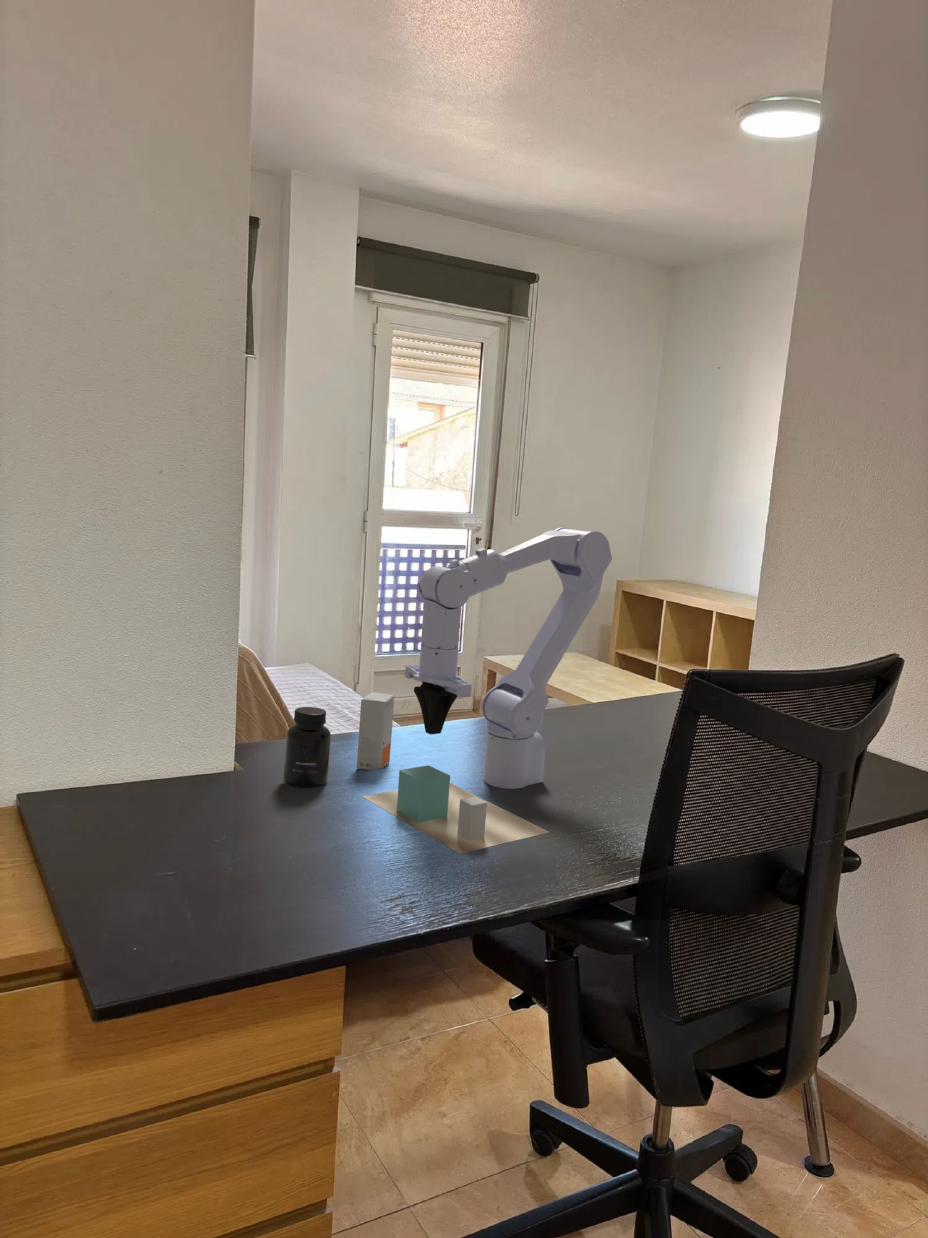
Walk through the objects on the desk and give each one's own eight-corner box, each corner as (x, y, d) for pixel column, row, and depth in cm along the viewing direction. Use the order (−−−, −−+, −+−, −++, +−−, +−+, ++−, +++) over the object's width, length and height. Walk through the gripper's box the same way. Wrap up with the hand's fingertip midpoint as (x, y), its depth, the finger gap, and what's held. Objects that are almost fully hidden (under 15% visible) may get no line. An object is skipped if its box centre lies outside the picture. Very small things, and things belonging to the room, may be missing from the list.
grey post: (472, 831, 125) (475, 796, 125) (484, 837, 123) (487, 802, 123) (457, 834, 124) (460, 799, 123) (469, 841, 122) (472, 805, 121)
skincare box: (380, 772, 150) (385, 702, 149) (355, 769, 151) (360, 699, 149) (390, 762, 156) (395, 694, 155) (367, 759, 157) (371, 691, 155)
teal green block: (425, 805, 134) (428, 765, 133) (447, 816, 130) (450, 775, 129) (396, 810, 131) (399, 770, 130) (417, 822, 127) (420, 780, 126)
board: (446, 786, 146) (447, 781, 146) (549, 837, 127) (549, 832, 127) (361, 801, 136) (361, 796, 136) (459, 859, 117) (459, 853, 117)
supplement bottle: (298, 795, 137) (302, 717, 135) (275, 782, 142) (278, 707, 140) (336, 788, 141) (340, 713, 139) (312, 775, 146) (316, 703, 144)
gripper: (391, 638, 141) (385, 723, 143) (447, 656, 130) (440, 748, 132) (428, 637, 145) (422, 719, 147) (485, 654, 134) (478, 743, 136)
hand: (433, 733), depth 140 cm, fingers closed
